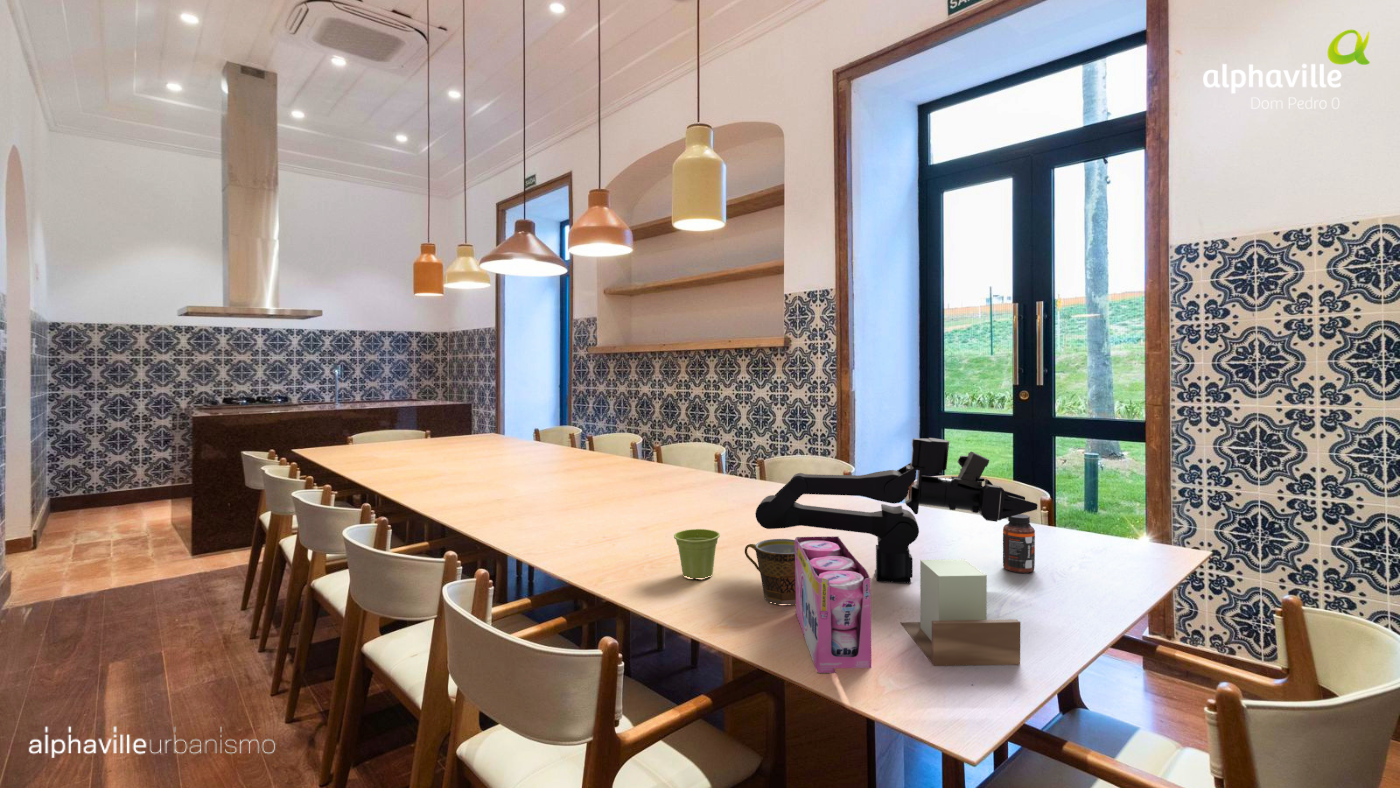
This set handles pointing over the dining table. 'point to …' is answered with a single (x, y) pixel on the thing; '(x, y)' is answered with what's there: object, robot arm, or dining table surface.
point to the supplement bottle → (1019, 544)
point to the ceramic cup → (776, 569)
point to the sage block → (951, 592)
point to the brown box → (969, 642)
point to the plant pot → (697, 551)
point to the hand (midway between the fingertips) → (1030, 502)
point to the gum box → (833, 604)
